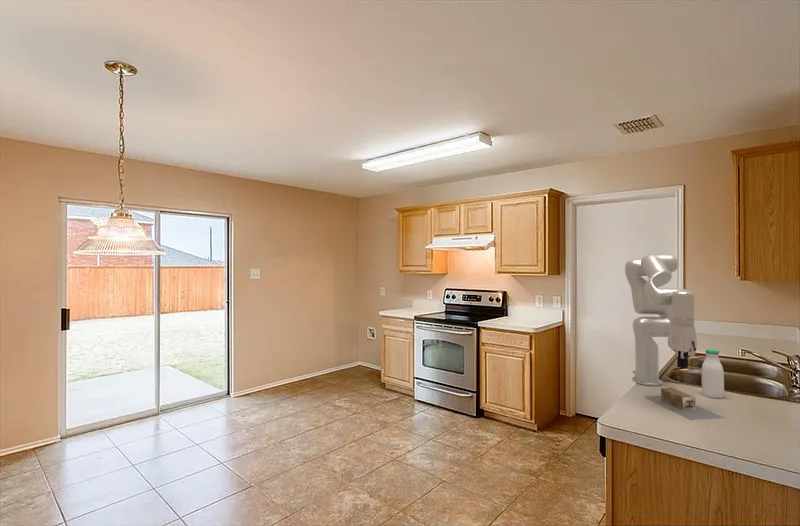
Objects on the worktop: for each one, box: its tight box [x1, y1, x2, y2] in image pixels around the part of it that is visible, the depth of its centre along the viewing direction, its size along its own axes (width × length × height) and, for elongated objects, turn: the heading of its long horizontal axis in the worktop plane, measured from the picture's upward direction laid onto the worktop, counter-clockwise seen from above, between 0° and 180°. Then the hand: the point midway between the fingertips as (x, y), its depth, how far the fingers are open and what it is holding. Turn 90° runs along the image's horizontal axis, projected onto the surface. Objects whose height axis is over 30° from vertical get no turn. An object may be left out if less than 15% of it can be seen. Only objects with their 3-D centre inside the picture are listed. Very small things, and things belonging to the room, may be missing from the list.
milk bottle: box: [701, 348, 725, 399], centre depth 177 cm, size 8×8×20 cm
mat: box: [643, 395, 726, 421], centre depth 163 cm, size 26×14×1 cm, turn 5°
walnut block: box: [660, 387, 697, 411], centre depth 165 cm, size 5×5×12 cm
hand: (682, 367), depth 162 cm, fingers closed
